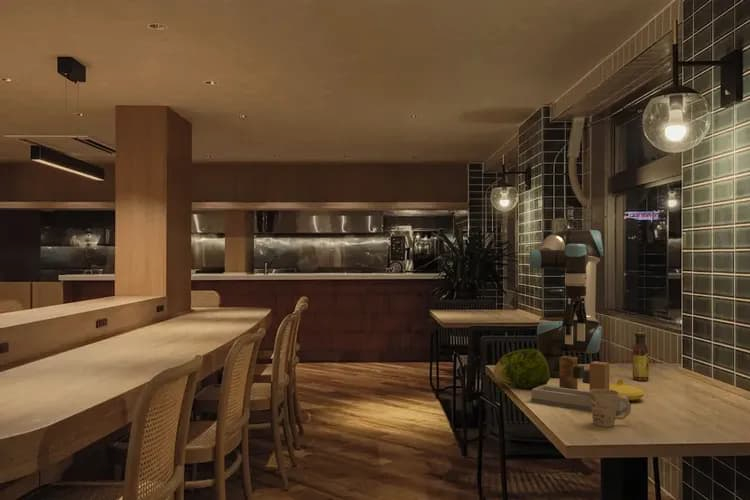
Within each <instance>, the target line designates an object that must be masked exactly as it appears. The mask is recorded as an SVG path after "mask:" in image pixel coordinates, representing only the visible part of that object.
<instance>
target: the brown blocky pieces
mask: <svg viewBox="0 0 750 500" xmlns="http://www.w3.org/2000/svg"><path fill="white" fill-rule="evenodd" d="M582 383H583V384H589V388H588V389H589V390H581V389H577V390H575V389H567V388H560V387H559V386H551V385H546V384H545V385H541V386H539V387H536V388H531V400H530V403H533V404H540V405H545V406H546V405H547V406H555V407H561V408H567V409H573V410H580V411H586V412H592V409H591V401H590V393H589V391H590V390H591V389H608V390H609V385H610V362H607V361H606V362H605V361H598V360H597V361H596V360H594V361H591V362H590V363H589V369H587V368H586V369H584V371H583V378H582ZM618 397H624V398H626V399H627V400H628V397H627V396H620V395H618ZM626 410H627V406H626V404H625V403H624V402H623V401H618V402H617V409H616V416H618V415H620V416H622V415H623V414H625V411H626ZM622 413H623V414H622Z"/></svg>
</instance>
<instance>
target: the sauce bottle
mask: <svg viewBox="0 0 750 500" xmlns="http://www.w3.org/2000/svg"><path fill="white" fill-rule="evenodd" d="M634 337H635V344H634V346H633V348H632V379H633V380H634V381H636V380H637V381H638V382H647V381H649V377H650V376H649V374H650V371H649V368H650V365H649V363H650V360H649V349H648V347H647V344H646V332H635V333H634Z"/></svg>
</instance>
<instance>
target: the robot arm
mask: <svg viewBox="0 0 750 500" xmlns="http://www.w3.org/2000/svg"><path fill="white" fill-rule="evenodd" d="M601 234H602V233H601V232H600V230H596V229H576V230H575V229H573V230H572V229H565V230H559V231H555V232H553V233H551V234H549V235H547V237H545V239H544V240H543V242H542V246H541V248H537V249H531V250H530V251H529V254H528V263H529V267H530V268H531V269H536V270H540V269H541V270H543V269H544V270H546V269H548V270H549V269H551V270H556V269H557V270H559V269H560V270H564V271H565V272H564V284H565V286H564V295H565V296H566V297H567V296H568V297H569V298H565V307H564V308H565V309H564V313H563V314H564V315H563V320H552V321H544V322H540V323H538V325H537V329H536V350H539V351H540V352H541V353H542V354H543V356H544V357H545V359H546V361H547V364H548V368H549V372H550V378H552V379H553V378H554V379H555V378H556V379H558V378H559V377H560V357H563V356H566V355H565V352H567V353H584V354H597V353H598V352H599V351H600V347H601V342H602V336H603V335H602V334H603V327H602V326H601V325H599V321H598V320H597V318H596V292H597V289H596V287H597V283H596V282H597V264H598V263H599V262H600V261H601V257H604V247H603V240H602V235H601Z"/></svg>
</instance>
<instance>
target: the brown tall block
mask: <svg viewBox="0 0 750 500" xmlns="http://www.w3.org/2000/svg"><path fill="white" fill-rule="evenodd" d="M578 360H579V357H578V356H568V355H565V356H563V357H560V377H559V384H558V385H559V386H558V387H560V388H567V389H575V390H579V389H578V383H579V382H578V379H580V380H581V379H583V371H584V370H585V366H583V365H578Z"/></svg>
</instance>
